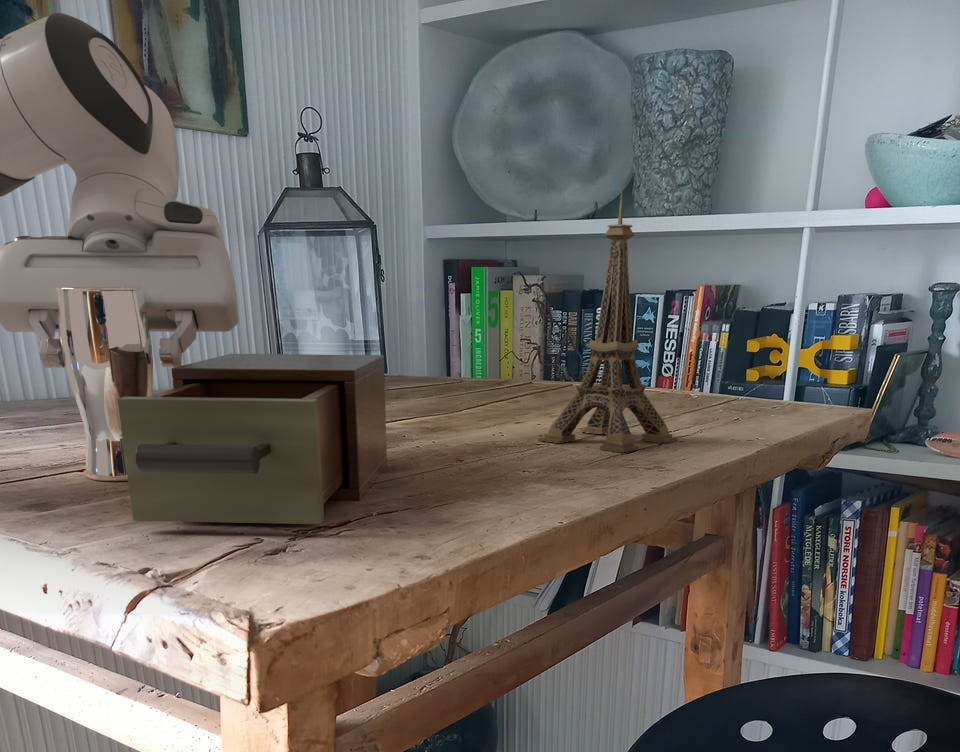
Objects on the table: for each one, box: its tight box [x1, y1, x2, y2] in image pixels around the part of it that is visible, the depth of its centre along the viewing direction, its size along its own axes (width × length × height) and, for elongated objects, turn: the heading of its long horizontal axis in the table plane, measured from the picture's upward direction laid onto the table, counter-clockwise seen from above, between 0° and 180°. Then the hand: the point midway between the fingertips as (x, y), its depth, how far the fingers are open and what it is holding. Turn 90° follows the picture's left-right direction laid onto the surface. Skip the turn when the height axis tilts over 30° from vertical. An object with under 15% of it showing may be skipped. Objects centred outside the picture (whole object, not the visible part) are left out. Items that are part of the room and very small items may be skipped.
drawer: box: [117, 381, 347, 525], centre depth 63 cm, size 18×12×8 cm
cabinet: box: [170, 353, 388, 501], centre depth 77 cm, size 15×14×10 cm
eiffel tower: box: [537, 177, 679, 454], centre depth 94 cm, size 11×11×25 cm
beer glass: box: [55, 287, 154, 482], centre depth 77 cm, size 7×7×15 cm
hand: (111, 362), depth 77 cm, fingers open, 8 cm apart
